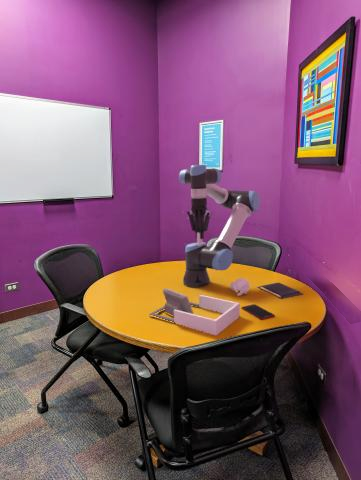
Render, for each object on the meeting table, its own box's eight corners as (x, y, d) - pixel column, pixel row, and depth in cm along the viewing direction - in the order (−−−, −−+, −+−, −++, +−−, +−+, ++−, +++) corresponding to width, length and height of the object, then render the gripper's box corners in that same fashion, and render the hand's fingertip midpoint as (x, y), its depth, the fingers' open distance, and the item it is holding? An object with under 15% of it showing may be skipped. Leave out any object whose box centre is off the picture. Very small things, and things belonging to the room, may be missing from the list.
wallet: (304, 292, 172) (280, 296, 166) (304, 295, 172) (280, 300, 167) (279, 280, 190) (256, 284, 185) (279, 283, 191) (256, 288, 185)
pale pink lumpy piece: (240, 280, 169) (226, 276, 180) (241, 297, 170) (227, 292, 181) (250, 278, 172) (235, 274, 182) (251, 294, 173) (236, 290, 183)
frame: (149, 316, 151) (149, 314, 151) (177, 301, 168) (177, 299, 168) (173, 323, 144) (173, 320, 144) (199, 306, 161) (199, 304, 160)
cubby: (174, 323, 143) (173, 310, 142) (200, 306, 160) (200, 294, 159) (215, 335, 132) (215, 321, 131) (239, 316, 149) (239, 303, 148)
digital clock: (195, 318, 148) (194, 294, 146) (176, 323, 144) (176, 299, 142) (177, 305, 162) (177, 284, 160) (160, 309, 158) (159, 288, 156)
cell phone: (254, 305, 161) (254, 303, 160) (275, 317, 148) (275, 315, 147) (240, 309, 157) (240, 307, 157) (261, 321, 144) (261, 318, 144)
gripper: (183, 197, 166) (184, 245, 171) (206, 198, 158) (207, 248, 163) (191, 196, 172) (192, 242, 177) (214, 197, 164) (215, 244, 169)
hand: (199, 245), depth 170 cm, fingers closed
